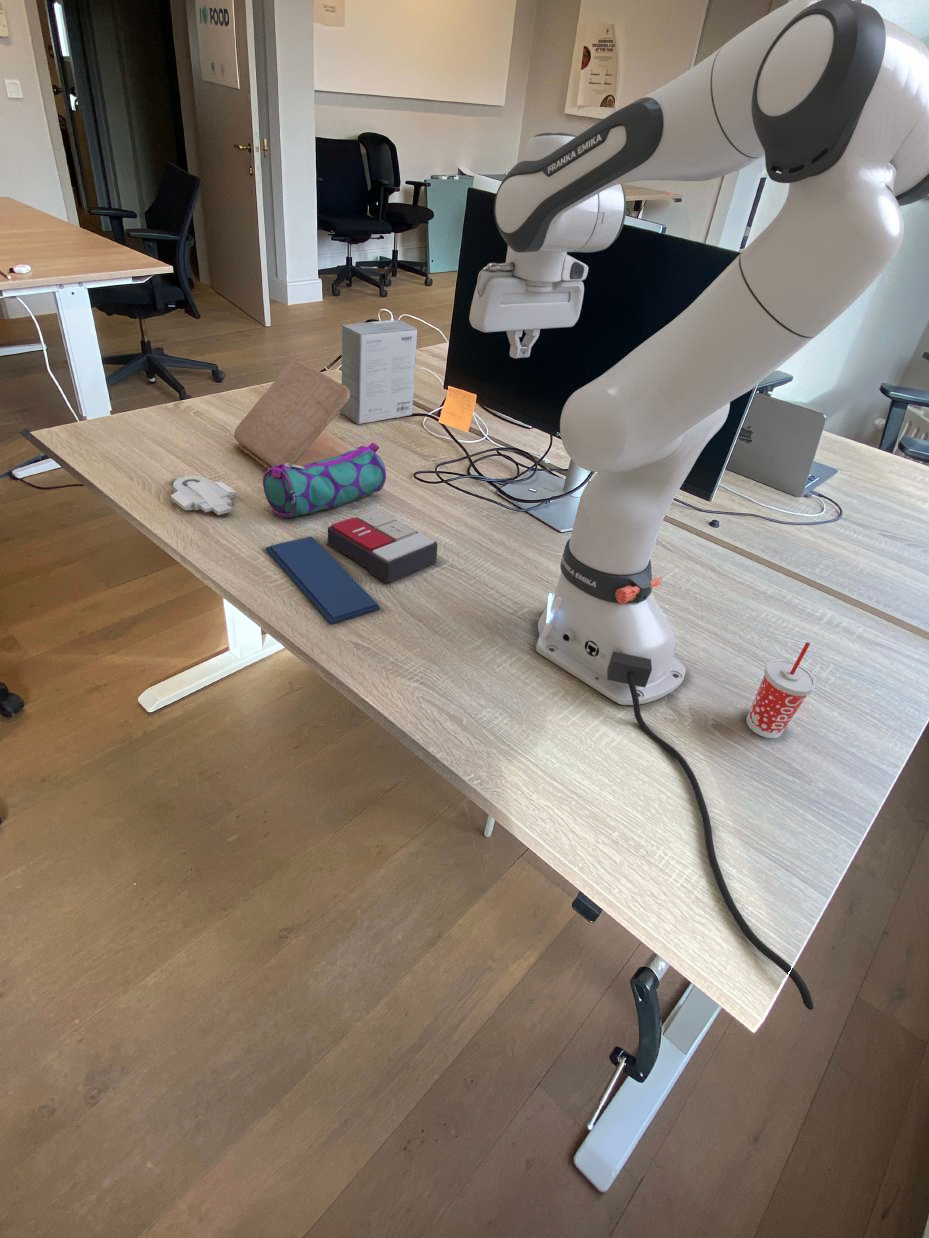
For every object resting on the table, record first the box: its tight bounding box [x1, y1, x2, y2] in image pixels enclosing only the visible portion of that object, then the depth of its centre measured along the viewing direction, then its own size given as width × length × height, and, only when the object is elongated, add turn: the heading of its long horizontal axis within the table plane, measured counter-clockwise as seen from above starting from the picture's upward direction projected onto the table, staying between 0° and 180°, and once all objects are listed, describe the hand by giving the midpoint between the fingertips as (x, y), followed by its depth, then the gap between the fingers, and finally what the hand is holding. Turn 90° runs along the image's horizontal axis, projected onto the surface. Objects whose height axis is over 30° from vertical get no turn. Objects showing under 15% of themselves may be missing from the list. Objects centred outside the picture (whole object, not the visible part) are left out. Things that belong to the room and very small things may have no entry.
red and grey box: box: [327, 508, 438, 584], centre depth 113 cm, size 11×4×15 cm
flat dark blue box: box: [265, 536, 381, 625], centre depth 106 cm, size 22×8×1 cm, turn 36°
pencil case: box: [262, 442, 387, 518], centre depth 123 cm, size 21×9×10 cm, turn 135°
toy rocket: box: [170, 475, 237, 516], centre depth 121 cm, size 16×10×2 cm, turn 47°
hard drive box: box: [341, 319, 419, 425], centre depth 157 cm, size 16×8×20 cm, turn 130°
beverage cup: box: [746, 641, 817, 739], centre depth 88 cm, size 6×6×14 cm
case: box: [233, 360, 358, 470], centre depth 135 cm, size 20×21×16 cm
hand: (519, 357), depth 112 cm, fingers closed
